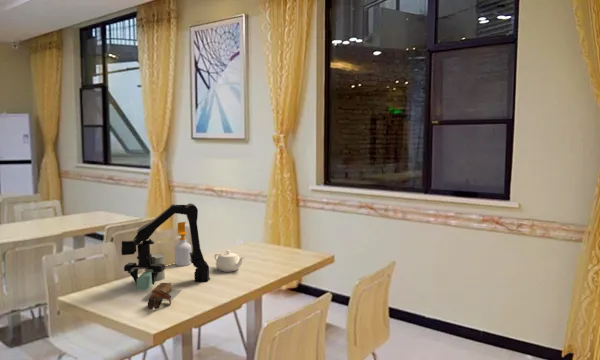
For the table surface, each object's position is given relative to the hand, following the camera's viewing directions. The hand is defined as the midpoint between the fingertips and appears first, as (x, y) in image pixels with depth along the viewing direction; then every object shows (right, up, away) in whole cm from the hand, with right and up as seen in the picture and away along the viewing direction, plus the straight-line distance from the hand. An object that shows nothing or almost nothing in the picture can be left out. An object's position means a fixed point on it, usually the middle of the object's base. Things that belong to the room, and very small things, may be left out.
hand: (145, 284), depth 236 cm
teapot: (+37, +2, +28) cm, 47 cm away
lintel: (0, -2, 0) cm, 2 cm away
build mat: (+12, -3, -12) cm, 17 cm away
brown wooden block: (+11, -3, -15) cm, 19 cm away
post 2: (+12, -2, -9) cm, 15 cm away
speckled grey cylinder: (+1, 0, +12) cm, 12 cm away
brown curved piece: (+14, -5, -26) cm, 30 cm away
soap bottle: (+9, +3, +39) cm, 40 cm away
